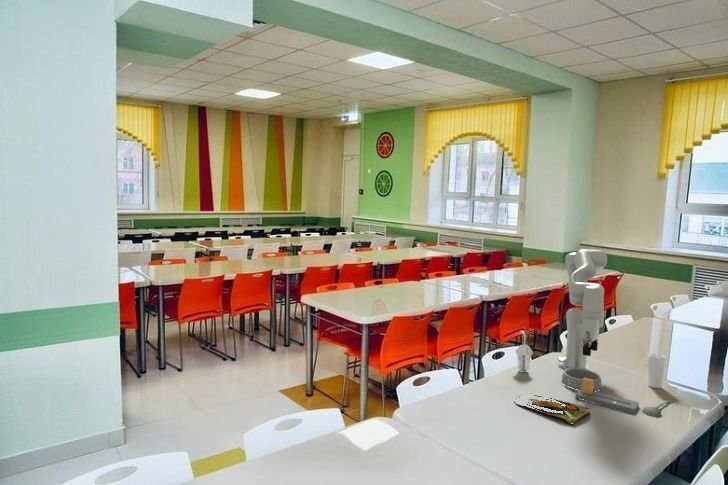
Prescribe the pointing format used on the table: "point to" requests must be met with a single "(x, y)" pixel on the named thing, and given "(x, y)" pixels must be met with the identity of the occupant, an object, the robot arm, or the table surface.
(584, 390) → the fader knob
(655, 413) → the soupspoon
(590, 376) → the dog bowl
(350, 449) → the table surface
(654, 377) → the drinking glass
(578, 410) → the prepared meal
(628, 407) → the fader console
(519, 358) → the cup with straw
